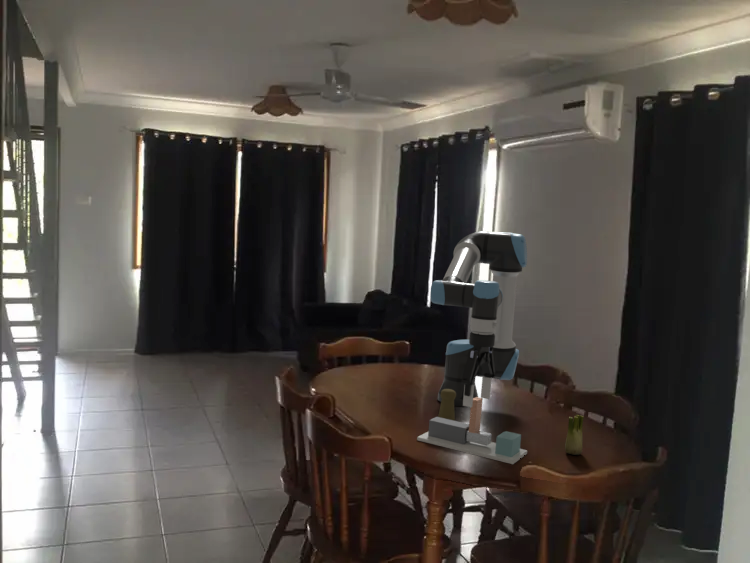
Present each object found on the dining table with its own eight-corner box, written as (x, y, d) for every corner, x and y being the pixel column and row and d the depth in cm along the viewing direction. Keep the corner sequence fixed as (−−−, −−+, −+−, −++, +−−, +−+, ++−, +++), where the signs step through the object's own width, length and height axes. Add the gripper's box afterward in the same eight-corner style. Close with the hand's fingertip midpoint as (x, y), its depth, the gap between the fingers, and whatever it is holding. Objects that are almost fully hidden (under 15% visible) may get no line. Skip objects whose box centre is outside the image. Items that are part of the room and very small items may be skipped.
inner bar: (437, 434, 222) (441, 393, 220) (443, 431, 225) (446, 390, 224) (486, 446, 214) (490, 403, 212) (491, 442, 217) (495, 400, 216)
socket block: (495, 453, 211) (496, 436, 210) (503, 447, 217) (505, 431, 216) (511, 457, 208) (512, 440, 208) (519, 451, 214) (521, 434, 214)
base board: (417, 440, 221) (417, 436, 221) (434, 431, 231) (434, 428, 231) (513, 464, 205) (513, 460, 205) (527, 453, 216) (527, 450, 216)
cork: (456, 420, 245) (459, 388, 244) (452, 425, 240) (455, 392, 239) (439, 417, 247) (442, 386, 246) (435, 422, 242) (437, 390, 241)
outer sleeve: (428, 435, 223) (429, 420, 222) (435, 432, 227) (436, 416, 227) (463, 444, 217) (465, 428, 216) (470, 440, 221) (471, 424, 221)
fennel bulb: (566, 456, 216) (569, 417, 215) (560, 450, 221) (564, 412, 220) (584, 457, 216) (588, 418, 215) (579, 451, 221) (583, 413, 220)
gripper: (478, 338, 202) (471, 412, 204) (509, 330, 223) (503, 397, 225) (453, 334, 206) (447, 407, 208) (486, 326, 227) (481, 392, 229)
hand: (476, 402), depth 216 cm, fingers open, 13 cm apart
